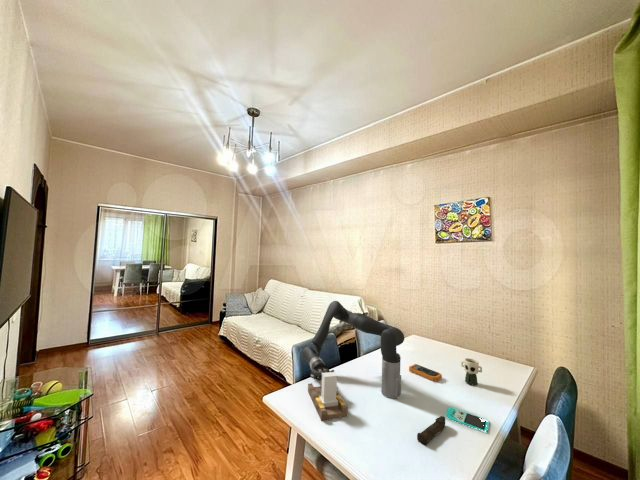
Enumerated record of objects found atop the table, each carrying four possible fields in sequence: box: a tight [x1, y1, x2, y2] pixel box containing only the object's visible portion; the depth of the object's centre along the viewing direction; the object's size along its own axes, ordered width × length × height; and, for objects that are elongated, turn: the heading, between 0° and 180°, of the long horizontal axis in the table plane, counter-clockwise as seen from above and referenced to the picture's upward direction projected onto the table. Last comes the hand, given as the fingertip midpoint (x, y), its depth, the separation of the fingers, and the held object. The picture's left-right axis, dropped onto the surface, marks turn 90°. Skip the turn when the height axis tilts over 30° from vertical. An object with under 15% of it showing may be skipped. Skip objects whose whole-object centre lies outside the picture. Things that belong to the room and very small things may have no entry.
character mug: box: [460, 357, 483, 386], centre depth 150 cm, size 11×7×13 cm, turn 43°
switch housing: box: [307, 382, 349, 422], centre depth 124 cm, size 24×12×4 cm, turn 16°
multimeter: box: [408, 363, 443, 383], centre depth 159 cm, size 9×18×3 cm, turn 39°
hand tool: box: [416, 415, 446, 447], centre depth 105 cm, size 19×4×5 cm, turn 126°
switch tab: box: [319, 371, 338, 407], centre depth 122 cm, size 6×7×13 cm
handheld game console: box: [446, 406, 490, 433], centre depth 116 cm, size 10×16×1 cm, turn 53°
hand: (327, 382), depth 124 cm, fingers closed
